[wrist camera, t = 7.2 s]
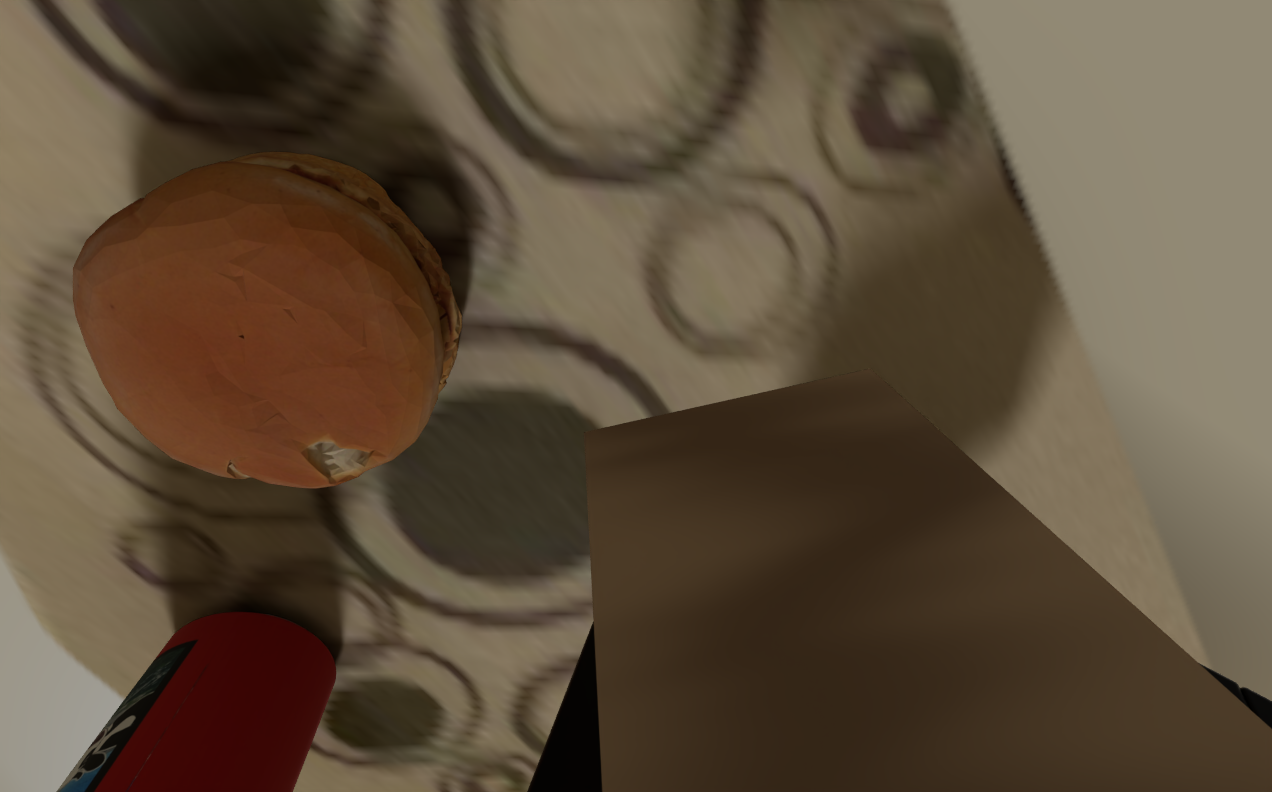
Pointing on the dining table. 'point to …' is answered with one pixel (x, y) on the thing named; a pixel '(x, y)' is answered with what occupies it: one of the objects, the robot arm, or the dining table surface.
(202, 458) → the burger
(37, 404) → the dining table surface
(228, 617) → the beverage can
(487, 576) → the dining table surface
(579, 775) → the robot arm
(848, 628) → the walnut block
